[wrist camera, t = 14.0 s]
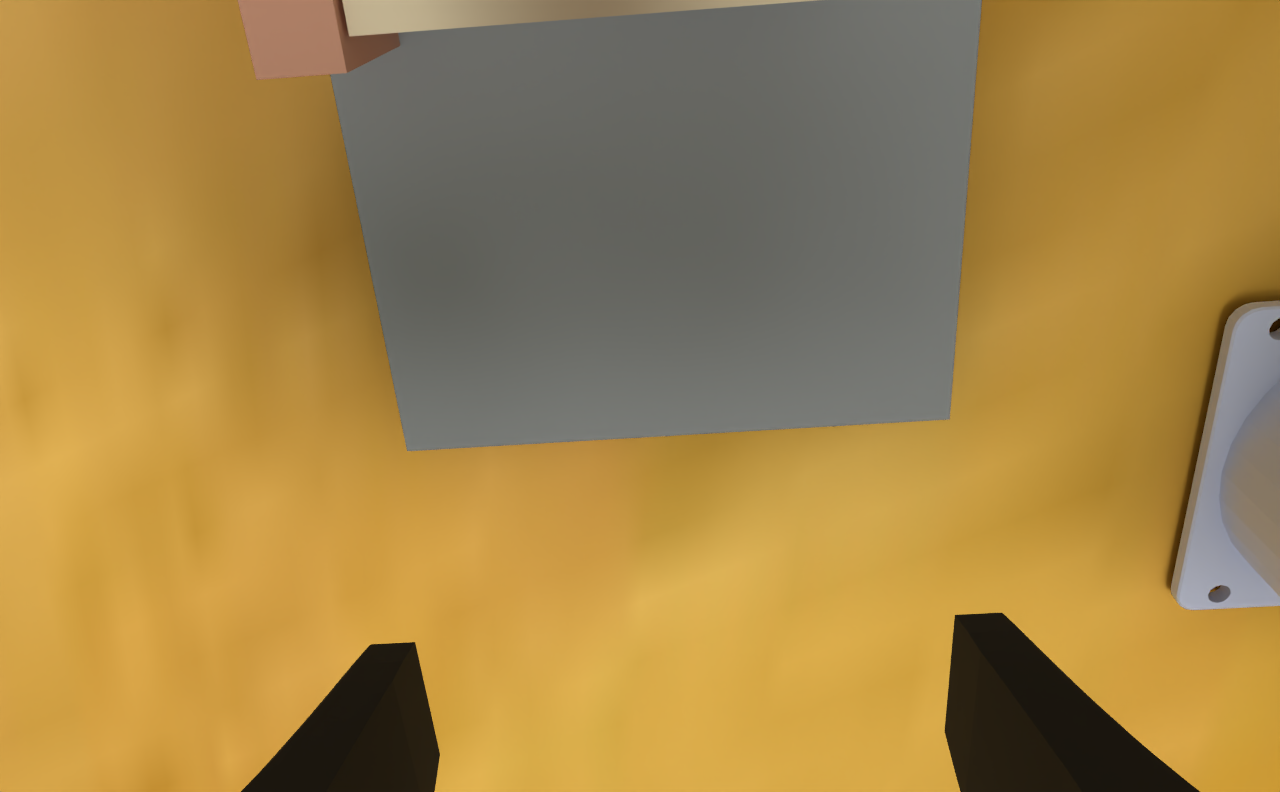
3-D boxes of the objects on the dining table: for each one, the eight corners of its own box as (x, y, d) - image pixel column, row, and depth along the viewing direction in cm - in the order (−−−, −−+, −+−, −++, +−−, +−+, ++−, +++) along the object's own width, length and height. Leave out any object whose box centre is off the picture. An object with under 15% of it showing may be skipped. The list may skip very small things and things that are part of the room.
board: (1014, -702, 14) (1159, -948, 10) (937, 398, 22) (1001, 506, 18) (210, -617, 15) (43, -819, 11) (417, 429, 23) (365, 541, 19)
